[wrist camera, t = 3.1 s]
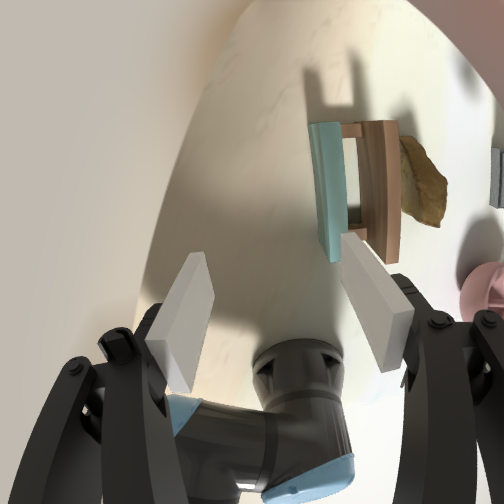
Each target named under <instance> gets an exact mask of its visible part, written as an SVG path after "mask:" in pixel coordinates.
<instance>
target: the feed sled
mask: <svg viewBox="0 0 504 504" xmlns="http://www.w3.org/2000/svg"><path fill="white" fill-rule="evenodd" d="M308 129H309V137H310V145H311V153H312V161H313V170H314V180H315V190H316V202H317V214H318V227H319V241H320V243H321V245H322V247H323V249H324V251H325V253H326V255H327V258H328V260H329V262H330V263H334V262H341V234H344V233H352V232H355V233H356V234H357V235H358V237H359V238H360V239H361V240H362V241H363V240H365V241H366V242H367V243H368V244H369V245H370V247H371V248H372V249H373V250H374V251H375V252H376V254H377V255H378V256H379V257H380V258H381V260H382V261H383V262H384V263H385V265H387V264H393V263H398V260H399V248H400V231H401V160H400V143H399V131H398V121H394V120H378V121H361V122H355V124H340V121H338V122H320V123H313V124H308ZM354 137H356V140H357V150H358V162H359V177H360V196H361V223H354V224H348V212H347V192H346V177H345V165H344V154H343V144H342V138H354Z"/></svg>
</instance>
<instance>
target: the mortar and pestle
mask: <svg viewBox="0 0 504 504" xmlns="http://www.w3.org/2000/svg"><path fill="white" fill-rule="evenodd" d="M459 304H460V312H461V316H462V319H463V321H464V322H472V320H473V317H474V315H475V313H476V312H477V311H479V310H484V309H487V310H492V311H494V312H496V313H498V314H499V315H500V316H501V317H502V319H503V320H504V264H503V263H500V262H486V263H483V264H481V265H479V266H478V267H476V268H475V269H474V270H473V271H472V272H471V273H470V274H469V275H468V277H467V278H466V280H465V282H464V284H463V286H462V289H461V293H460V303H459Z"/></svg>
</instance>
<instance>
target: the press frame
mask: <svg viewBox="0 0 504 504" xmlns="http://www.w3.org/2000/svg"><path fill="white" fill-rule="evenodd" d="M489 205H491V206H493V207H495V208H497V209H498V208H504V149H500V148H492V147H491V190H490V204H489Z"/></svg>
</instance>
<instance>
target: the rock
mask: <svg viewBox="0 0 504 504" xmlns="http://www.w3.org/2000/svg"><path fill="white" fill-rule="evenodd" d="M399 143H400V160H401V196H402V202H401V207H402V211H403V212H404V213H406V214H408V215H410V216H412V217H414V219H415V220H416V221H418V222H420V223H422V224H425V225H428V226H432V227H436V228H440V222H441V220H442V219H443V217H444V214H445V211H446V203H447V198H446V197H447V185H448V182H447V179H446V178H445V177H444V176H443V175H441V174H440V172H439V171H438V170H437V169H436V167H435V165H434V164H433V163H432V161H431V160H430V159H429V158H428V157H427V155H426V151H425V149H424V148H423V146H422V145H421V144H419V143H418V142H417V141H416V139H415V138H413V137H412V136H401V137H399Z"/></svg>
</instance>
